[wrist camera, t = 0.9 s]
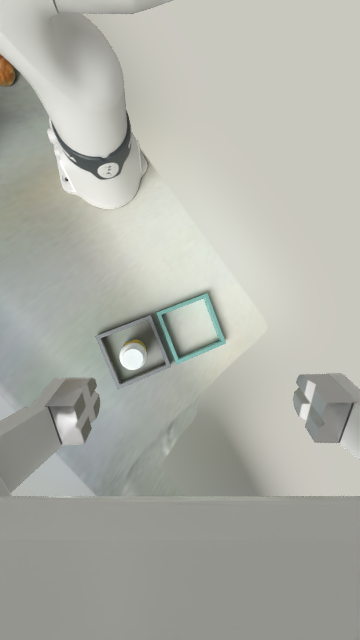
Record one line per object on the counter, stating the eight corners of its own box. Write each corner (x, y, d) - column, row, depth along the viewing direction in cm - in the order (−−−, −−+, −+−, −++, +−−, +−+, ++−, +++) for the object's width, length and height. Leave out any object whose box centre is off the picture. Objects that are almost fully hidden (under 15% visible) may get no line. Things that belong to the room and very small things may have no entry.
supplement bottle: (119, 358, 50) (113, 369, 40) (126, 336, 50) (122, 341, 41) (142, 364, 51) (142, 376, 41) (149, 342, 51) (150, 349, 41)
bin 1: (97, 335, 49) (95, 336, 47) (150, 315, 51) (150, 315, 49) (118, 386, 50) (117, 389, 48) (170, 364, 52) (171, 366, 50)
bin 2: (156, 312, 51) (156, 312, 49) (205, 293, 53) (207, 293, 51) (175, 362, 52) (176, 364, 50) (223, 342, 54) (225, 343, 52)
